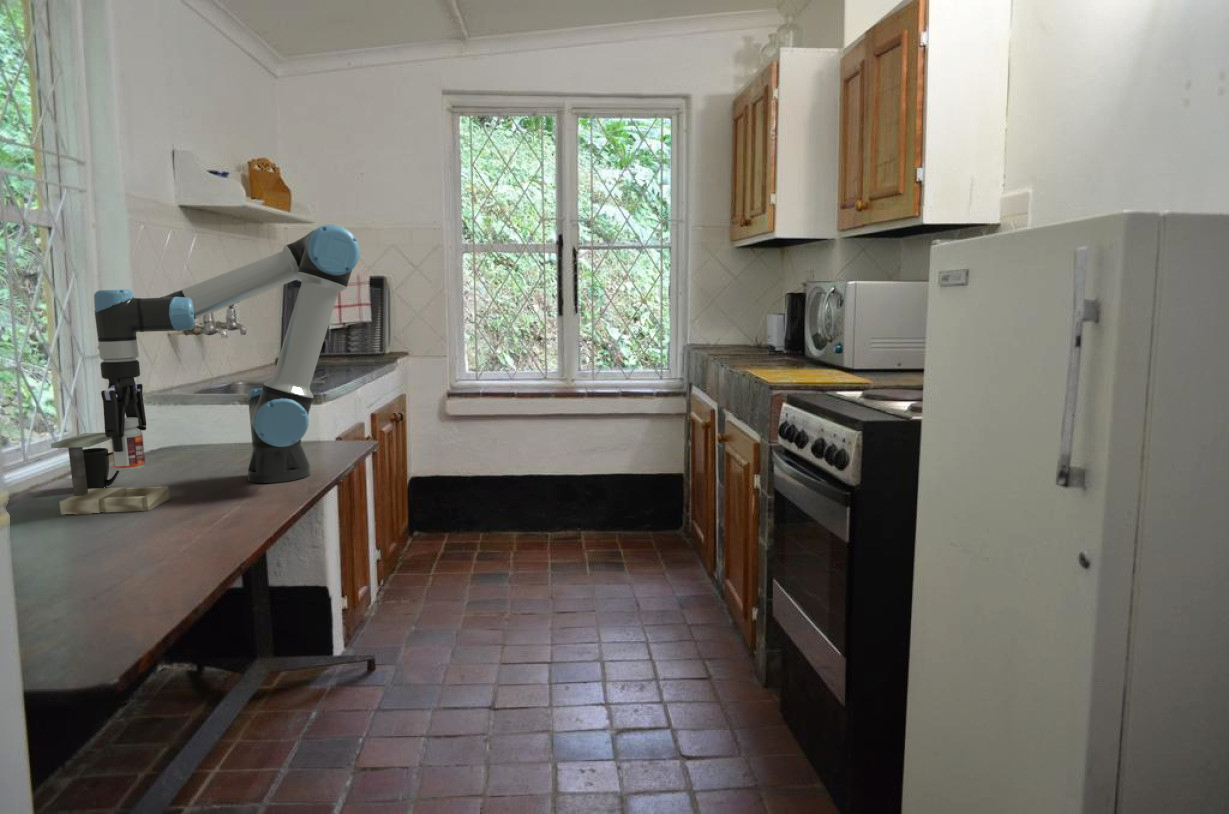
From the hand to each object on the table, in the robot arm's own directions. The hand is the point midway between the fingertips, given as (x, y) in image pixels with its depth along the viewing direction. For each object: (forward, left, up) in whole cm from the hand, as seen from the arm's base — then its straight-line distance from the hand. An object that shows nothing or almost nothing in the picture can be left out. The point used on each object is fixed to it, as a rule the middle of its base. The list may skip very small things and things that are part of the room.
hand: (129, 462), depth 198 cm
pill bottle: (0, 0, -2) cm, 2 cm away
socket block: (+4, 0, -10) cm, 11 cm away
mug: (+18, -20, -10) cm, 29 cm away
